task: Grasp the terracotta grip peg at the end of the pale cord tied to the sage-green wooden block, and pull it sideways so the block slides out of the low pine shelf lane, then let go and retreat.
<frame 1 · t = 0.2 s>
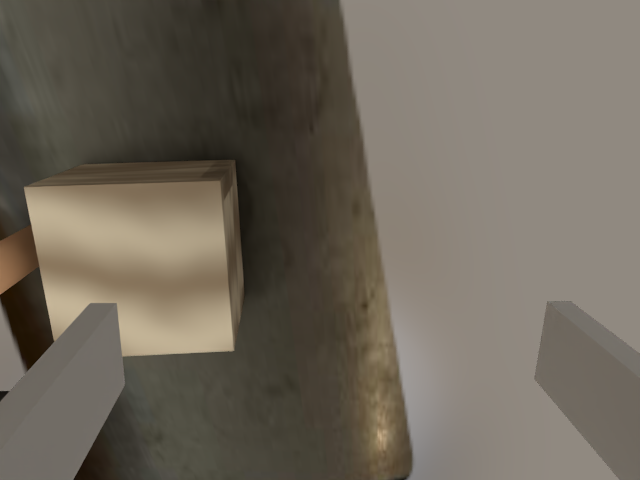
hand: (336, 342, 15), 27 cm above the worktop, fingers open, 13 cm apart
tethered block: (174, 233, 42), on the worktop
shelf: (168, 233, 42), on the worktop
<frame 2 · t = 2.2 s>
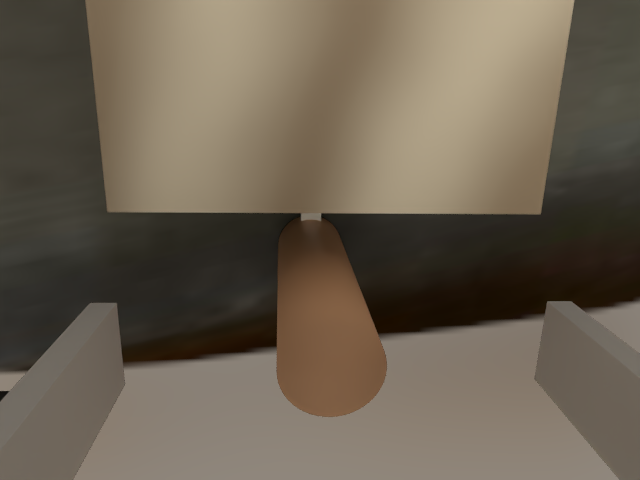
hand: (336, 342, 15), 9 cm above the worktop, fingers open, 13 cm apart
tethered block: (314, 6, 21), on the worktop
shelf: (313, 19, 21), on the worktop
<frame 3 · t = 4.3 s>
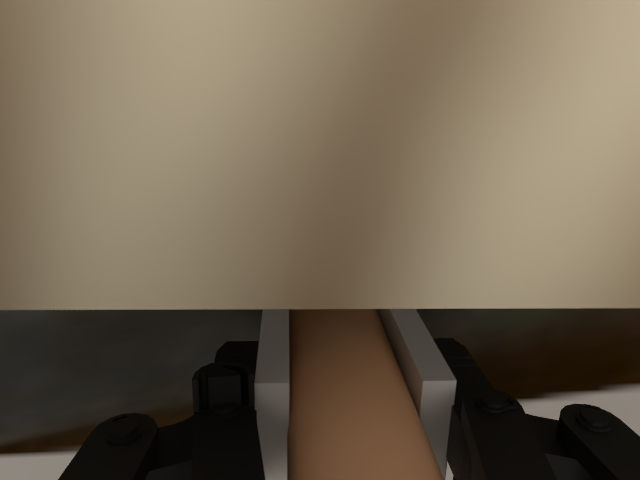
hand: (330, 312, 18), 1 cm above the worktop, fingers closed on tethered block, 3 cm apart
shelf: (338, 1, 16), on the worktop
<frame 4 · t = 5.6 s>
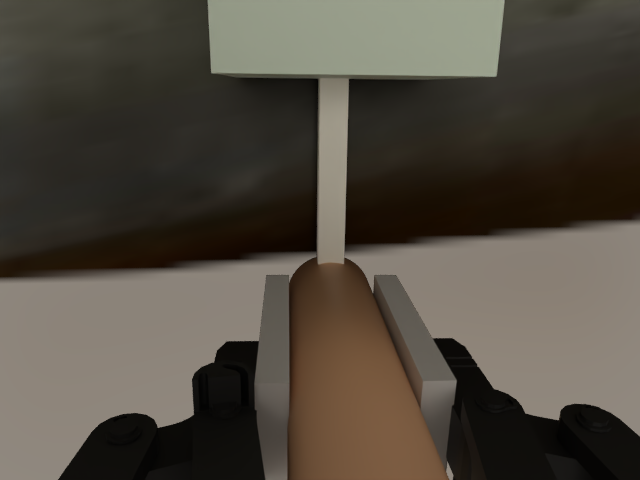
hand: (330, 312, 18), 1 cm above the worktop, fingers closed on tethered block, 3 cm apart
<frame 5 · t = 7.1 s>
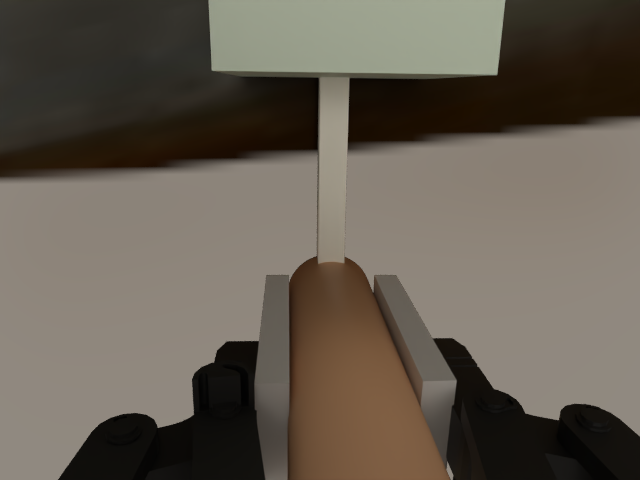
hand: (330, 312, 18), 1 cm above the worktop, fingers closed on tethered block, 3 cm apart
when the fingers open (1 cm above the worktop, at t = 7.4 s): tethered block stays where it is, on the worktop.
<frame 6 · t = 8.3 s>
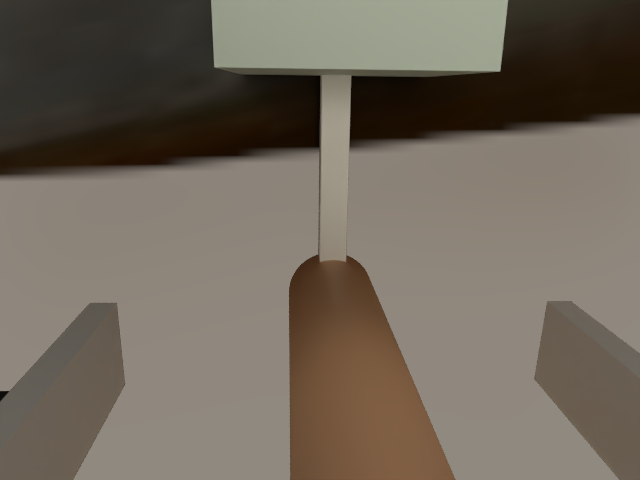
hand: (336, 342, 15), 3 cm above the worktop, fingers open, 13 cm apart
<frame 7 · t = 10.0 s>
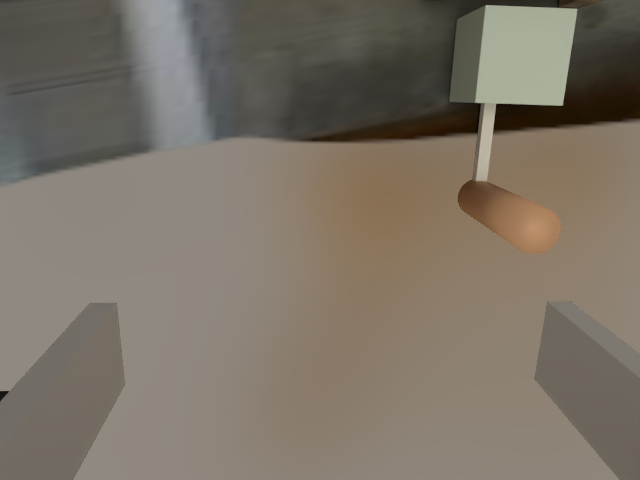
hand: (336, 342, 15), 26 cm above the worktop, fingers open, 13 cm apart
tethered block: (491, 62, 39), on the worktop
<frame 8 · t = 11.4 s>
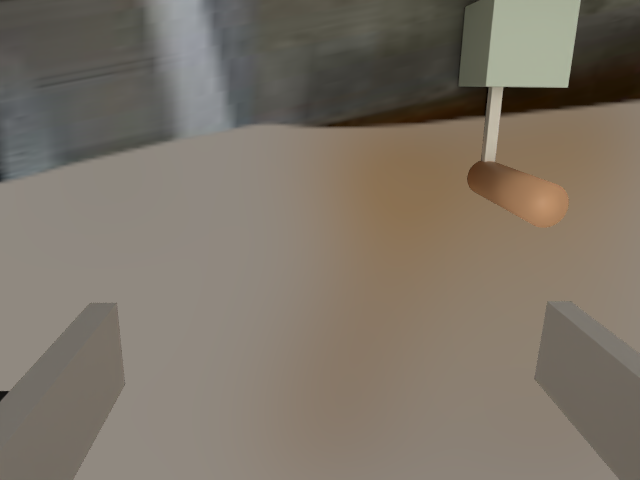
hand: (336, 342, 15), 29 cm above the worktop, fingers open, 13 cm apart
tethered block: (498, 48, 41), on the worktop
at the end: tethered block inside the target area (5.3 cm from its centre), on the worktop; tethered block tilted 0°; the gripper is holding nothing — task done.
